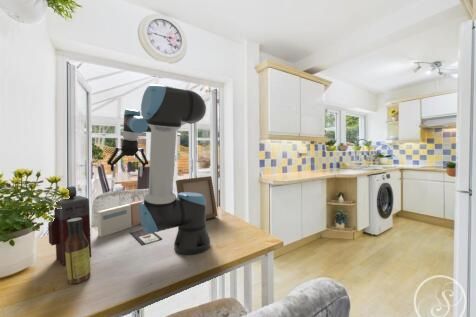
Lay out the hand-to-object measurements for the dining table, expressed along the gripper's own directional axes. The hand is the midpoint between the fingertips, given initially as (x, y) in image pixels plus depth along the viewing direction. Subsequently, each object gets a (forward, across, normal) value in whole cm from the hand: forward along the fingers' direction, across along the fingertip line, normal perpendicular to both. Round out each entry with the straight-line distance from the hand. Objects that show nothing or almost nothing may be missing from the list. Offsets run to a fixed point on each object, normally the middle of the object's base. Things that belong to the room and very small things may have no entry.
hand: (127, 176), depth 121 cm
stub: (+25, -5, +9) cm, 27 cm away
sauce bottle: (+16, +22, +52) cm, 59 cm away
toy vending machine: (+20, +25, +34) cm, 47 cm away
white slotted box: (+25, +6, +13) cm, 29 cm away
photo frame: (+21, -35, +21) cm, 46 cm away
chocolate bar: (+21, -4, +30) cm, 36 cm away
